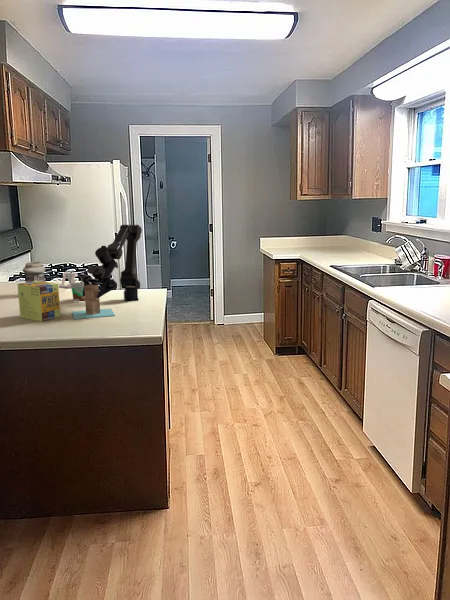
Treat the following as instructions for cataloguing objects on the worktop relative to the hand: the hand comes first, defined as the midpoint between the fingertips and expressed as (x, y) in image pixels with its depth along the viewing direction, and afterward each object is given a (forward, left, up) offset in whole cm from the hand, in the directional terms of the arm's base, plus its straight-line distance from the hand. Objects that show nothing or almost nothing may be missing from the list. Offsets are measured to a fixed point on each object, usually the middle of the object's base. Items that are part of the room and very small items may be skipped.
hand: (90, 296), depth 232 cm
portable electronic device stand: (+6, -78, -9) cm, 78 cm away
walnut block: (-1, -1, -8) cm, 8 cm away
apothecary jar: (+24, -59, -9) cm, 64 cm away
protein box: (+22, -4, -9) cm, 24 cm away
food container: (+1, -34, -9) cm, 35 cm away
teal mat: (-1, -1, -8) cm, 9 cm away
